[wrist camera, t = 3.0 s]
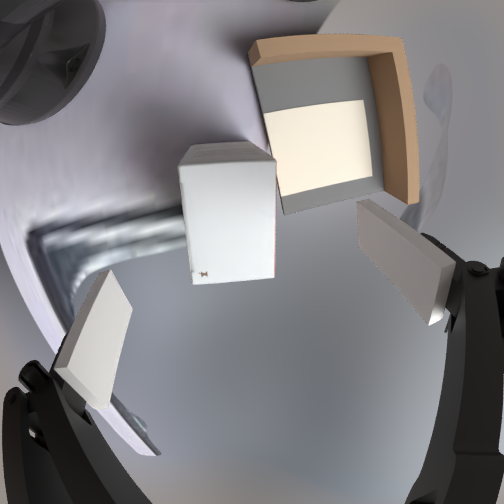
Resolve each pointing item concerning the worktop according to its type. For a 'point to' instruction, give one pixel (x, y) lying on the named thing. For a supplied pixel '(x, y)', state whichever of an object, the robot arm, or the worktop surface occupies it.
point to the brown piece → (337, 117)
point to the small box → (229, 211)
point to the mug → (303, 0)
